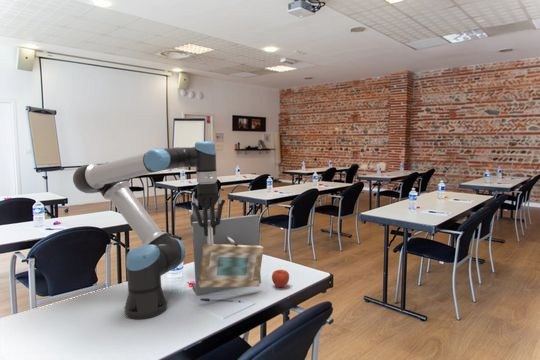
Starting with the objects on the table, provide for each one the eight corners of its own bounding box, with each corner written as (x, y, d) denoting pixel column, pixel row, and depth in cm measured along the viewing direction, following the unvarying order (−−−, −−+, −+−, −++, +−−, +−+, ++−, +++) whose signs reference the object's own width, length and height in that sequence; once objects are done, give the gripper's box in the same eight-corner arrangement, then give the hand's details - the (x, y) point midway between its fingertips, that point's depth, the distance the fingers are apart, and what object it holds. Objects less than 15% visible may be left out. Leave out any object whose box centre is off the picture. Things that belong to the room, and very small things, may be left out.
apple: (285, 282, 160) (285, 264, 159) (292, 288, 153) (291, 270, 152) (270, 284, 158) (269, 266, 157) (275, 291, 151) (274, 272, 150)
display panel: (201, 302, 142) (197, 226, 139) (192, 288, 156) (189, 219, 153) (267, 288, 153) (264, 218, 150) (253, 276, 167) (251, 212, 164)
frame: (200, 287, 138) (206, 241, 137) (198, 284, 141) (204, 239, 140) (258, 286, 147) (264, 244, 147) (255, 283, 151) (261, 241, 150)
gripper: (191, 185, 131) (195, 249, 134) (227, 182, 137) (229, 243, 139) (187, 183, 138) (190, 244, 140) (221, 180, 143) (224, 239, 146)
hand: (210, 243), depth 140 cm, fingers closed
